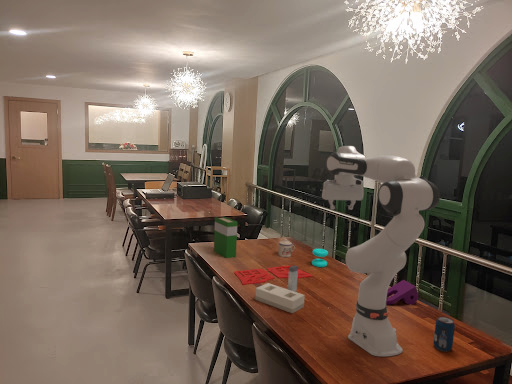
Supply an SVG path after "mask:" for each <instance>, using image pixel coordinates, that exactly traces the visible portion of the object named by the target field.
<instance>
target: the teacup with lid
mask: <svg viewBox="0 0 512 384" xmlns="http://www.w3.org/2000/svg"><path fill="white" fill-rule="evenodd" d="M294 250H295V245H294V244H293V243H292V242H291V241H289V240H288V239H287V238H284V239H283V240H281V241H279V242H278V256H279V257H282V258H290V257H291V256H292V252H293V251H294Z"/></svg>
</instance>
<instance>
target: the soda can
mask: <svg viewBox="0 0 512 384" xmlns="http://www.w3.org/2000/svg"><path fill="white" fill-rule="evenodd" d="M455 329H456V324H455V321H454V319H452V318H450V317H448V316H444V315H443V316H438V317H437V319H436V320H435V326H434V333H433V335H434V336H433V346H434V347H435V349H437V350H439V351H440V352H445V353H446V352H450V351H451V350H452V349H453V346H454V345H453V344H454V336H455V331H456V330H455Z"/></svg>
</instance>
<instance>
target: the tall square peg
mask: <svg viewBox="0 0 512 384" xmlns="http://www.w3.org/2000/svg"><path fill="white" fill-rule="evenodd" d="M290 266H291V265H290ZM298 269H299V265H295V264H294V265H292V266H291V267H289V270H288V271H289V275H288V276H289V277H288V278H287V279H288V282H287V289H288V290H291V291H294V292H297V289H298V287H297V286H298V278H297V277H298Z"/></svg>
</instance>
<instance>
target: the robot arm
mask: <svg viewBox="0 0 512 384" xmlns="http://www.w3.org/2000/svg"><path fill="white" fill-rule="evenodd" d="M325 165H326V169H327V171H328V172H329V173H330V174H331V176H334V179H326V180H325V181H324V182H323V183H322V193H321V198H322V199H323V200H326V201H328V203H329V206H330V207H329V208H330V210H335V209H336V205H334V201H350V205H348V210H350V211H351V210H353V209H354V205H355V204H356V201H362V200H363V199H364V189H365V188H364V187H363V185H364V180H361V179H359V178H356V177H355V176H360V177H364V178H368V179H370V180H373V181H377V182H379V183H382V184H381V185H380V187H379V189H378V193H377V196H378V197H377V198H378V202H379V203H380V205H381V207H382V209H383V210H385V211H386V214H387V215H389V216H390V217H391V216H392V219H391V220H390V221H389V222H388V223H387V224H386V225H385V227H384V228H382V230H381V231H379V233H378V234H376V235H375V236H373V237H372V238H370V239H368V240H366V241H365V242H363V243H361V244H358V245H356V246H352V247H350V248H349V249H348V250H347V251H346V254H345V264H346V267H347V268H348V269H349V270H350V271H351V272H353V273H360V274H368V276H367V277H366V278H365V279H363V280H362V281H361V282H360V284H359V288H358V297H357V298H358V299H357V300H356V305H355V310H356V312H355V315H354V317H353V319H352V323H351V327H350V328H351V329H350V332H349V334H348V335H347V338H348V340H350V341H351V342H353V343H354V344H356V345H357V346H358V347H360V348H361V349H362V350H364V351H365V352H367V353H368V354H370V355H371V356H373V357H374V356H375V357H393V356H397V355H398V356H399V355H400V354H401V353H403V350H404V349H403V348H402V347H401V345H400V344H399V343H398V339H397V338H398V337H397V329H396V328H395V327H393V326H392V323H391V321H390V319H389V318H388V317H389V315H390V312H388V309H387V305H386V299H387V292H388V289H389V288H390V285H391V282H392V281H393V279H394V278H395V277H396V275H397V273H399V272H401V270H402V269H404V268H405V266H406V263H407V254H406V251H407V250H408V249H409V248H410V247H411V246H412V245H413V244H414V242H416V241H417V240H418V238H419V237H420V235H421V234H422V233H423V230H424V229H425V220H424V217H423V215H421V214H420V211H429V210H432V209H434V208H436V207H437V206H438V204H439V203H440V200H441V195H440V194H441V193H440V190H439V188H438V187H437V185H436V184H435V183H433V182H431V181H430V180H428V179H427V178H426V177H425V176H419V177H418V176H417V175H416V167H415V164H414V163H413V162H412V161H411V160H409V159H407V158H405V157H402V156H398V155H392V154H391V155H390V154H384V155H383V154H382V155H376V156H369V157H367V156H366V155H365V154H362V153H360V152H358V151H357V149H356V147H355V146H353V145H341V146H340V147H338V149H337V151H334V152H332V153H331V154H330V155H329V156H328V157H327V159H326V163H325Z"/></svg>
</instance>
